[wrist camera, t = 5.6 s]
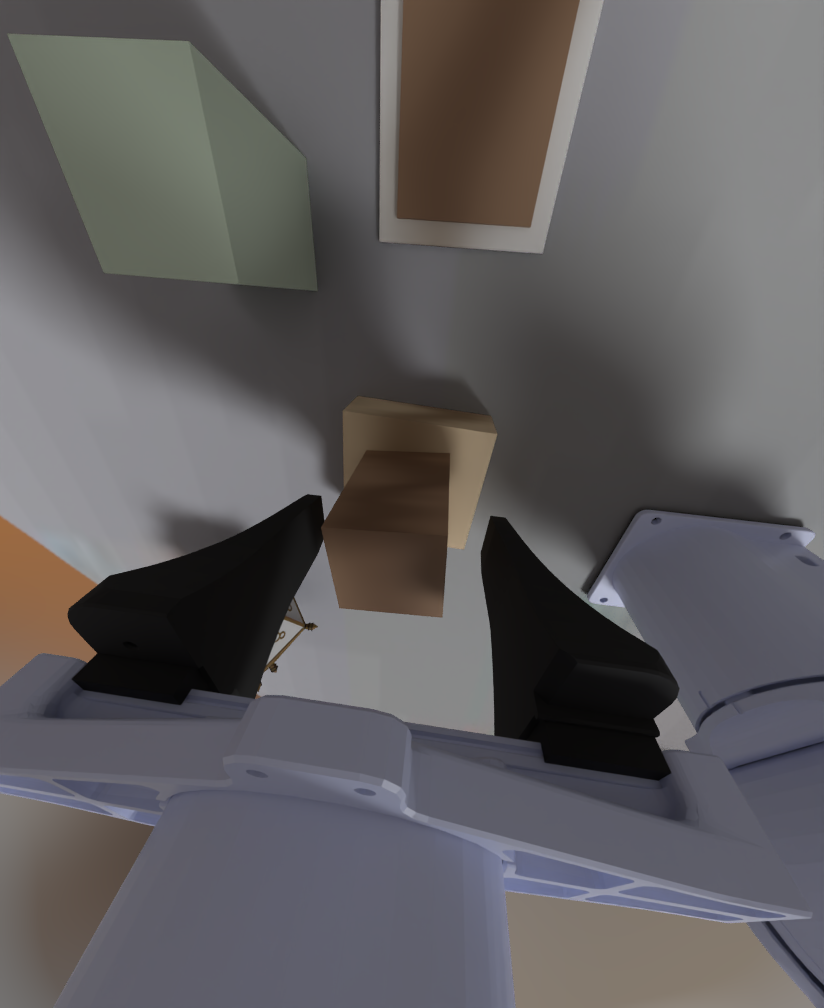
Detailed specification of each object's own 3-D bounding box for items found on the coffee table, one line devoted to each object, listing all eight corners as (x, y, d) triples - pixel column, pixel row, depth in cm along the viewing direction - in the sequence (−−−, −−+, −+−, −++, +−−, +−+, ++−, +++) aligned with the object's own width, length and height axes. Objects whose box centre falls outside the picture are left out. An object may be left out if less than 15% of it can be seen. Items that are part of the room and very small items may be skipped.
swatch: (614, -50, 8) (621, -65, 8) (541, 254, 12) (543, 252, 11) (382, -56, 8) (380, -70, 8) (380, 242, 12) (378, 240, 12)
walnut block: (450, 453, 14) (448, 535, 9) (445, 521, 16) (442, 617, 11) (366, 450, 14) (320, 527, 9) (373, 517, 17) (339, 607, 12)
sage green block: (306, 158, 11) (188, 40, 6) (317, 291, 13) (239, 284, 8) (202, 151, 11) (7, 33, 6) (230, 283, 13) (103, 273, 9)
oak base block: (490, 413, 16) (497, 434, 13) (462, 518, 20) (463, 549, 17) (359, 393, 16) (342, 410, 13) (357, 502, 20) (344, 530, 17)
